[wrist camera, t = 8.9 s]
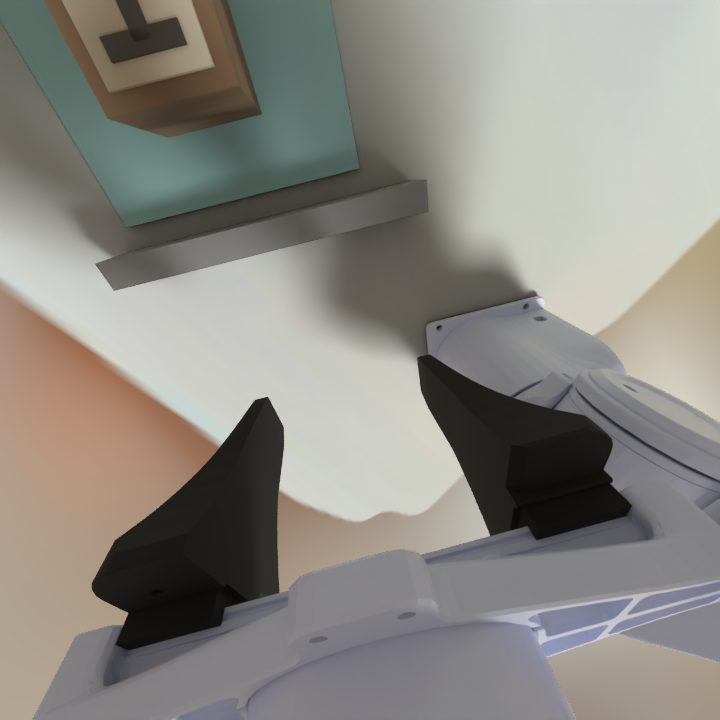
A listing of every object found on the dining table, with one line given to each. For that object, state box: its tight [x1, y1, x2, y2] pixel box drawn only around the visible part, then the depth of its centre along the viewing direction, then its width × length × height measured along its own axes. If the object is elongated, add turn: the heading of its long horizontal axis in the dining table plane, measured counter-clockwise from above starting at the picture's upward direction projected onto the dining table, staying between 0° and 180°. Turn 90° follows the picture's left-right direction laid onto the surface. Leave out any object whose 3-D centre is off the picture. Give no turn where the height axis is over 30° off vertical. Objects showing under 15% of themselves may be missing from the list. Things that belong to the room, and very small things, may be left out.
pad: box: [0, 0, 359, 228], centre depth 13 cm, size 14×12×1 cm
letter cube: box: [44, 0, 262, 138], centre depth 11 cm, size 5×5×5 cm
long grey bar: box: [95, 180, 428, 291], centre depth 17 cm, size 18×2×3 cm, turn 102°
